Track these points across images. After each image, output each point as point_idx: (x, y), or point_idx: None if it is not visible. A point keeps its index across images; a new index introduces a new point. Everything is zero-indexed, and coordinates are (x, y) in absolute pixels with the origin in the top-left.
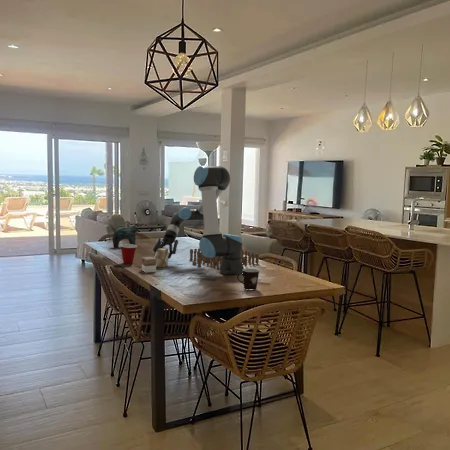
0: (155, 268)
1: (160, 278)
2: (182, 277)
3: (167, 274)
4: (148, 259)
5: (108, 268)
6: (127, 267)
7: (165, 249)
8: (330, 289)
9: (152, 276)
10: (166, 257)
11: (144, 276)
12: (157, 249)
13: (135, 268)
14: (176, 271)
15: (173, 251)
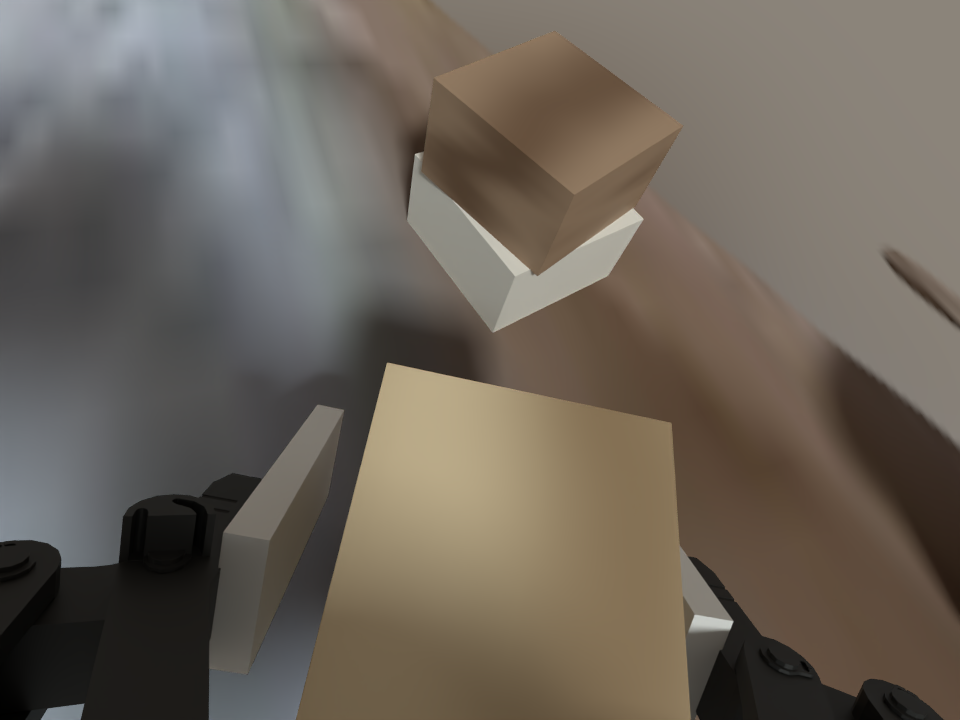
0: (416, 185)
1: (281, 9)
2: (23, 32)
3: (229, 127)
4: (528, 44)
5: (937, 285)
6: (830, 368)
7: (374, 470)
8: None
9: (379, 60)
10: (312, 445)
11: (453, 60)
12: (661, 425)
13: (717, 337)
14: (104, 272)
15: (4, 554)
